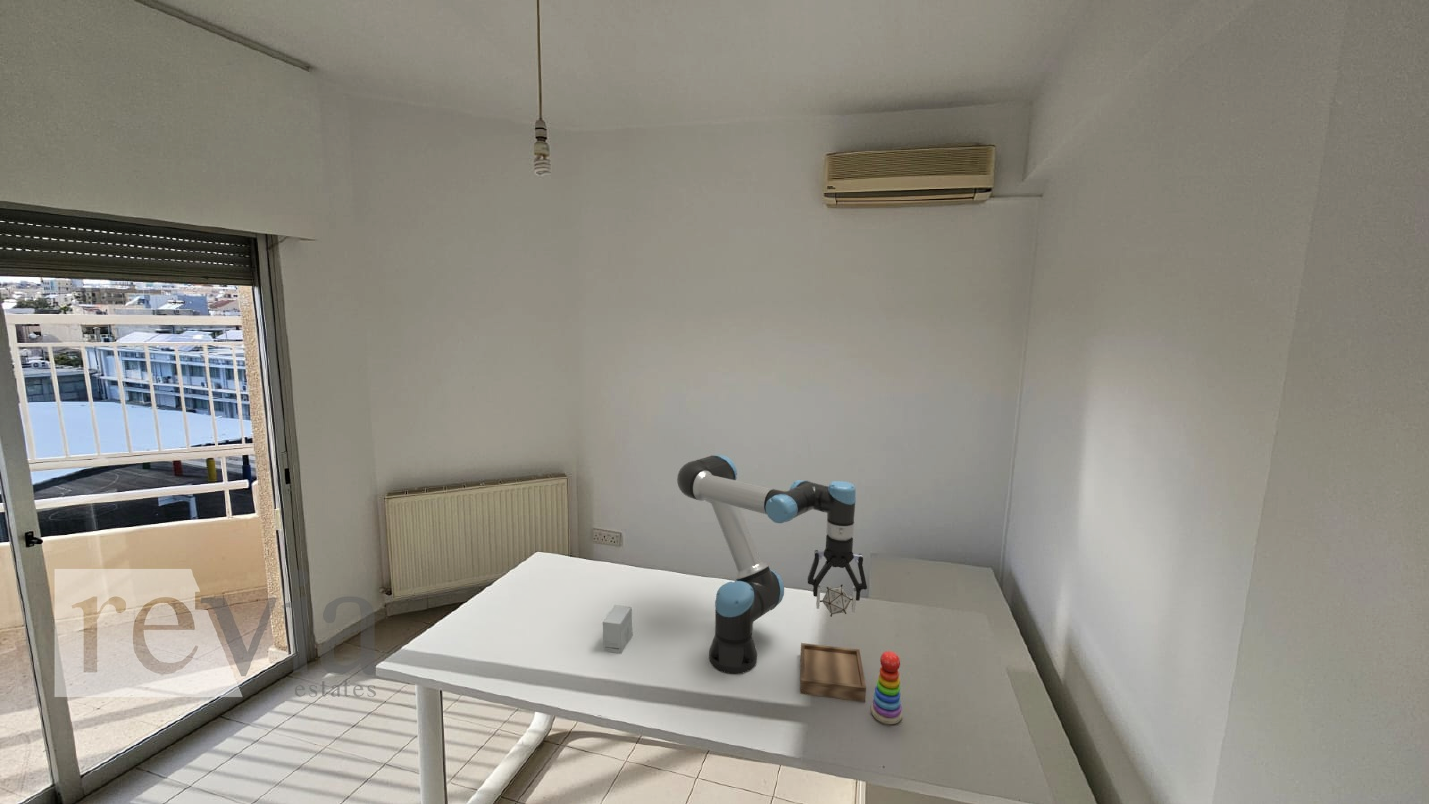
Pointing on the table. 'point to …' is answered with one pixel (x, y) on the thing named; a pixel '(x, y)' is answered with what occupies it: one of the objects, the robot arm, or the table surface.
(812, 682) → the square tray
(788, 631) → the table surface
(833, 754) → the table surface
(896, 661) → the stacking toy
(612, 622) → the skincare box
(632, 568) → the table surface
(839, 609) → the game die
